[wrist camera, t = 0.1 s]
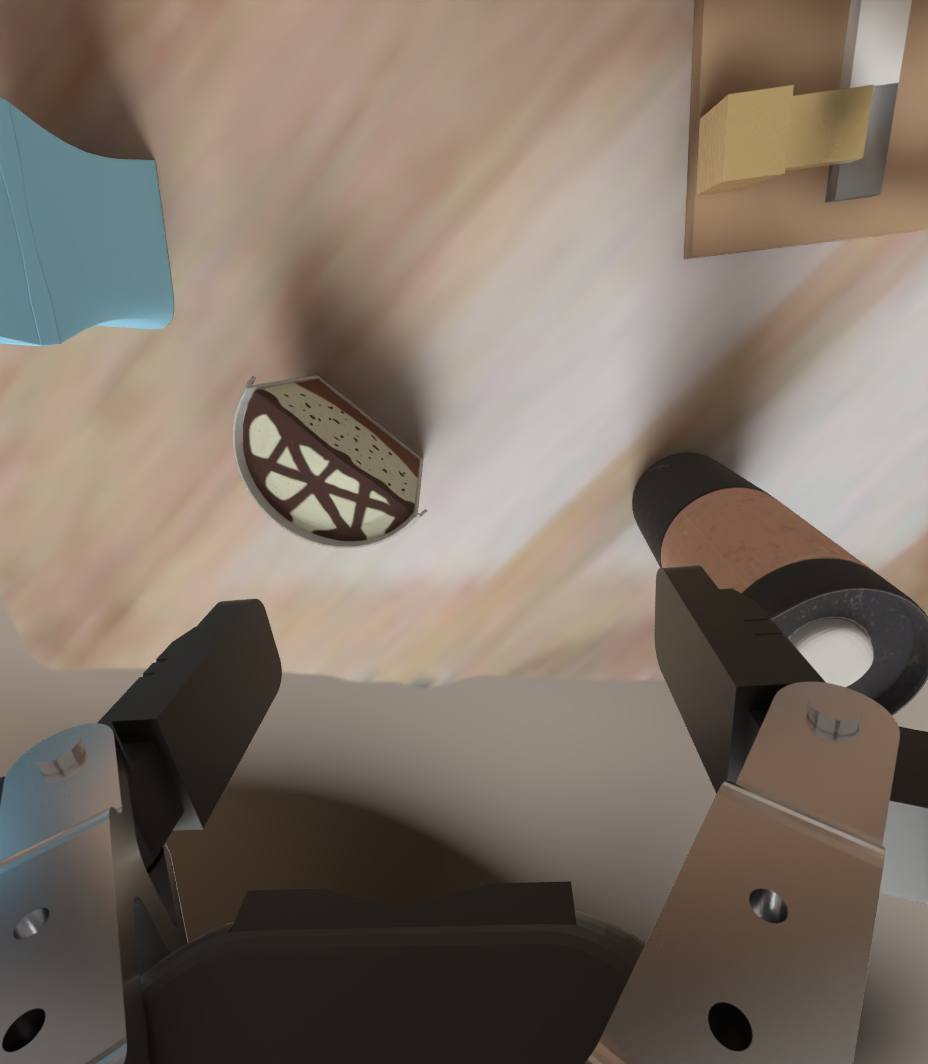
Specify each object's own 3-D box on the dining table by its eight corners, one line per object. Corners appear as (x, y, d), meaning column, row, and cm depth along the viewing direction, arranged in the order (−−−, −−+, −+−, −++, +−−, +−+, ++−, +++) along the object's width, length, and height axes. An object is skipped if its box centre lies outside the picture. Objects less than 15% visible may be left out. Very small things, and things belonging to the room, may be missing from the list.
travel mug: (749, 517, 41) (961, 699, 22) (652, 562, 42) (774, 765, 24) (711, 428, 38) (914, 550, 20) (610, 480, 40) (710, 636, 22)
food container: (254, 428, 40) (182, 467, 31) (299, 360, 38) (237, 380, 29) (389, 530, 42) (361, 594, 33) (439, 472, 40) (423, 523, 31)
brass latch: (699, 119, 30) (728, 94, 26) (834, 100, 29) (883, 71, 26) (696, 195, 31) (723, 181, 28) (824, 178, 31) (869, 162, 27)
